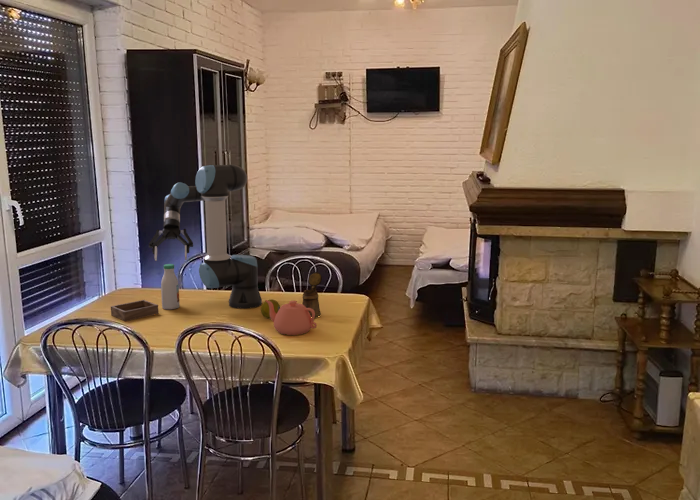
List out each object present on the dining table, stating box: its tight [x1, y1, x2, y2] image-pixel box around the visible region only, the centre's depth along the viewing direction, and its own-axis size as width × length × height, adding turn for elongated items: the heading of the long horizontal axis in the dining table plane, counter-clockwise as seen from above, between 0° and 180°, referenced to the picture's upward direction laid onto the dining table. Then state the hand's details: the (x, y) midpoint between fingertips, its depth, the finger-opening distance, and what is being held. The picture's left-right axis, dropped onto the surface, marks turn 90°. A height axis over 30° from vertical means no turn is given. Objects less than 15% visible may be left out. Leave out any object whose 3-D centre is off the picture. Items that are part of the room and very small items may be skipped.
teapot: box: [264, 299, 318, 336], centre depth 255 cm, size 22×16×12 cm
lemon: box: [260, 299, 281, 320], centre depth 274 cm, size 11×8×8 cm
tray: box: [110, 299, 160, 322], centre depth 278 cm, size 13×16×4 cm
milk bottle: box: [160, 263, 181, 310], centre depth 288 cm, size 8×8×20 cm
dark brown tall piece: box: [301, 271, 323, 317], centre depth 278 cm, size 9×14×18 cm, turn 164°
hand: (170, 258), depth 296 cm, fingers open, 13 cm apart
